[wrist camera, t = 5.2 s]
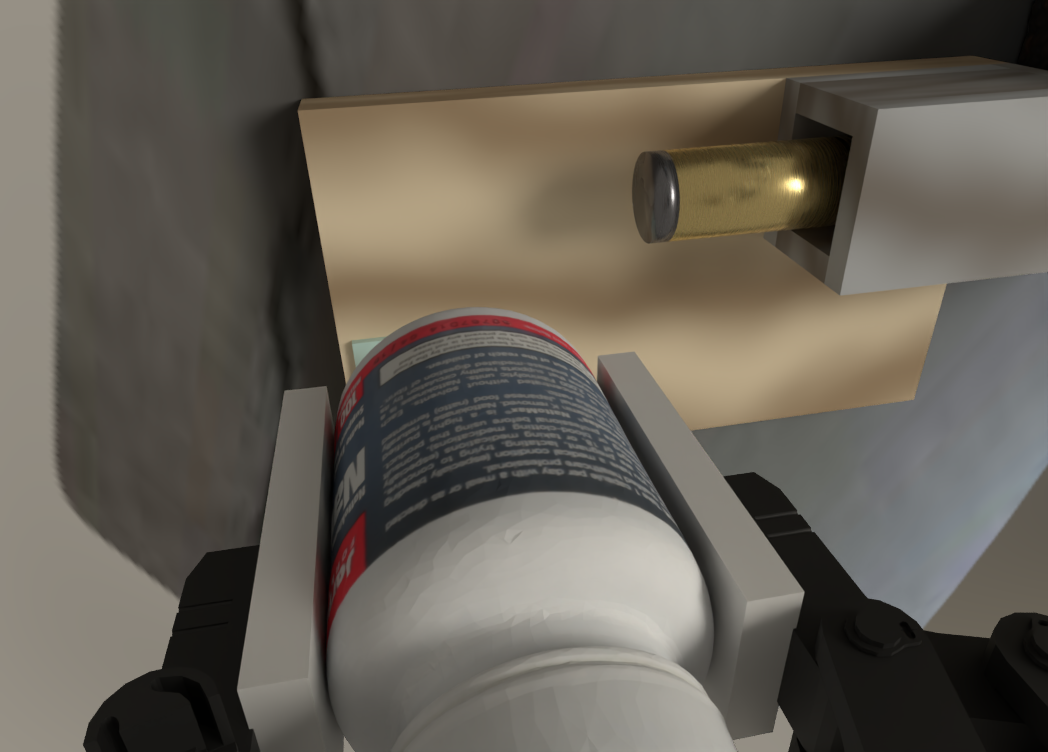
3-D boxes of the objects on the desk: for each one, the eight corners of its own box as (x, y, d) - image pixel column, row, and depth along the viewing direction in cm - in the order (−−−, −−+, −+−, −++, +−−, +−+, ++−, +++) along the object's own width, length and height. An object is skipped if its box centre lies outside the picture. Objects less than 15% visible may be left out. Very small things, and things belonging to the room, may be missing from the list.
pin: (634, 141, 25) (665, 164, 23) (849, 125, 27) (901, 145, 24) (630, 226, 27) (658, 256, 24) (834, 207, 28) (881, 234, 26)
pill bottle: (304, 327, 13) (240, 806, 6) (584, 277, 14) (856, 651, 6) (366, 546, 16) (378, 1070, 8) (600, 495, 17) (806, 943, 9)
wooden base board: (301, 99, 26) (282, 153, 19) (972, 55, 30) (1142, 89, 23) (363, 457, 34) (365, 580, 27) (886, 386, 38) (995, 480, 31)
